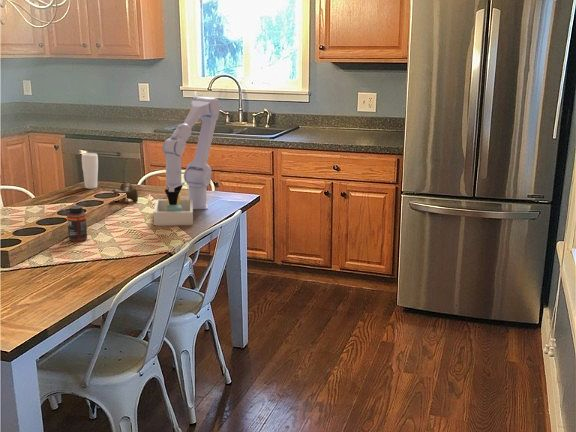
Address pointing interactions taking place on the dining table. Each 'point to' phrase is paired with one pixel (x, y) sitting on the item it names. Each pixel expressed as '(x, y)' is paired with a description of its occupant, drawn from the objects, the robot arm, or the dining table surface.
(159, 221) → the grey tote
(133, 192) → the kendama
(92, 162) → the drinking glass
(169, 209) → the teal cube
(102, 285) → the dining table surface
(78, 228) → the supplement bottle
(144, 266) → the dining table surface
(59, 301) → the dining table surface
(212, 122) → the robot arm
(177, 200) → the mustard cylinder
